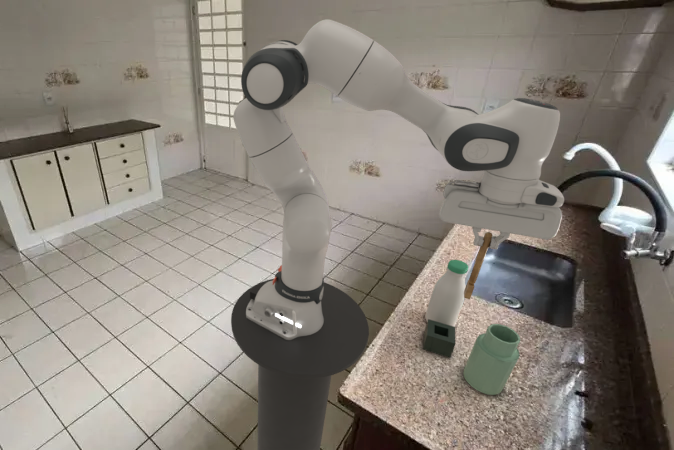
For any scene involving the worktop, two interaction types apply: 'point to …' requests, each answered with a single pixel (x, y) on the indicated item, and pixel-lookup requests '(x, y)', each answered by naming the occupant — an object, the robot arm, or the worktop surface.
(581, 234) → the worktop surface
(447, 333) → the spoon holder
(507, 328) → the green jar
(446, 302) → the milk bottle
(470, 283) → the wooden stick
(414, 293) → the worktop surface
